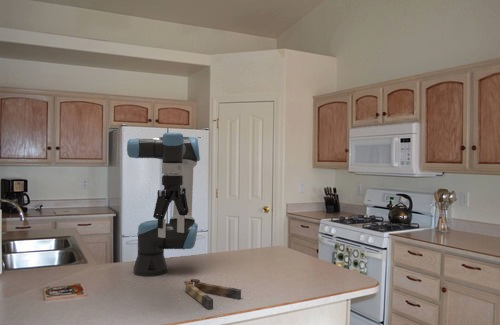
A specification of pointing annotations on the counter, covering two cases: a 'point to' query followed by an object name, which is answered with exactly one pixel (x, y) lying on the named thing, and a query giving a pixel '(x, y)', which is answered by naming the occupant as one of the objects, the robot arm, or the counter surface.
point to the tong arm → (199, 295)
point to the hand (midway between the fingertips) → (171, 234)
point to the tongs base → (217, 289)
